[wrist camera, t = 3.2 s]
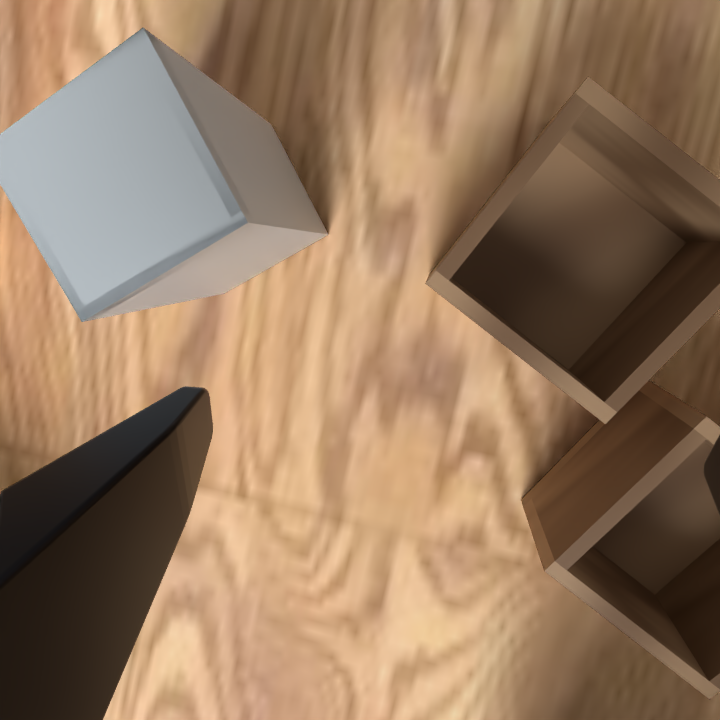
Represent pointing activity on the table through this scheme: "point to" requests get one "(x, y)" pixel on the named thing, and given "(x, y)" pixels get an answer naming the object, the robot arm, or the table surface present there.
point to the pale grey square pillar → (152, 184)
